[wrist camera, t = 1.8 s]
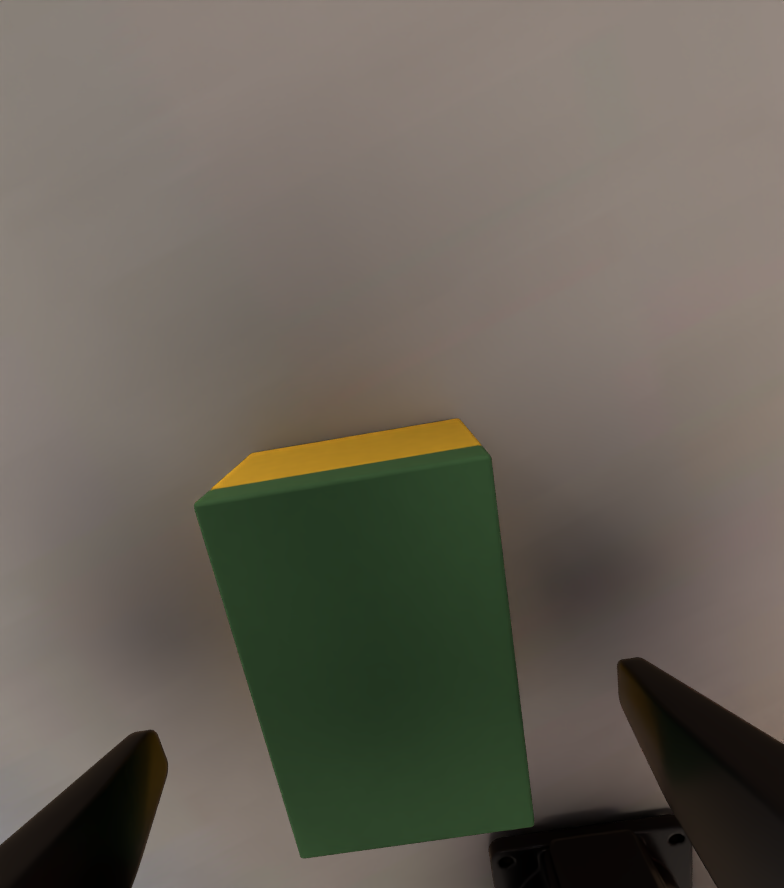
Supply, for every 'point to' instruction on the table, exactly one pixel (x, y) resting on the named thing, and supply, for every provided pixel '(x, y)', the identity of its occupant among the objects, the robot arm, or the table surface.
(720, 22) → the table surface
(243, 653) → the dish sponge
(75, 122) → the table surface
